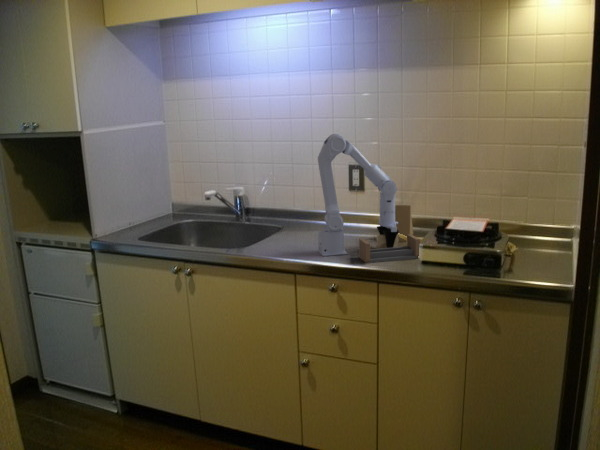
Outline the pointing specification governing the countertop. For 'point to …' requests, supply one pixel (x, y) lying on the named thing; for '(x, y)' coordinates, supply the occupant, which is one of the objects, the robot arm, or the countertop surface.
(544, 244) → the countertop surface
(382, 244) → the door panel
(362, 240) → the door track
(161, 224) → the countertop surface
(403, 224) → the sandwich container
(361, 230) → the countertop surface
